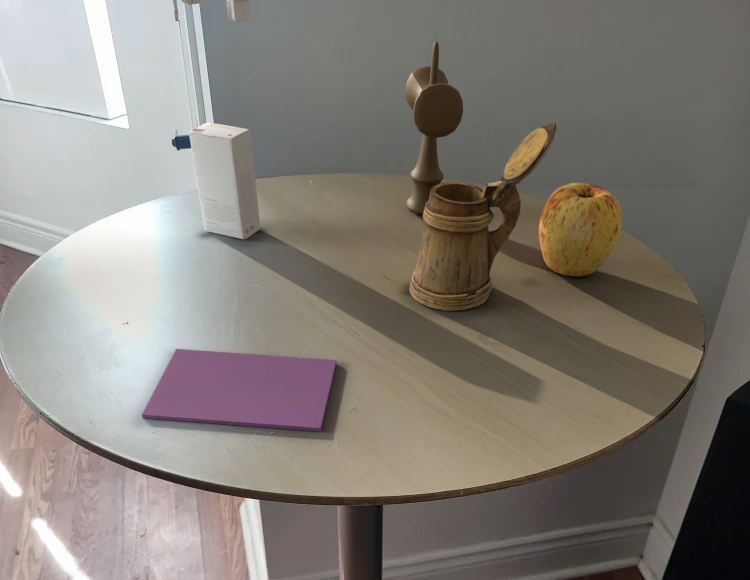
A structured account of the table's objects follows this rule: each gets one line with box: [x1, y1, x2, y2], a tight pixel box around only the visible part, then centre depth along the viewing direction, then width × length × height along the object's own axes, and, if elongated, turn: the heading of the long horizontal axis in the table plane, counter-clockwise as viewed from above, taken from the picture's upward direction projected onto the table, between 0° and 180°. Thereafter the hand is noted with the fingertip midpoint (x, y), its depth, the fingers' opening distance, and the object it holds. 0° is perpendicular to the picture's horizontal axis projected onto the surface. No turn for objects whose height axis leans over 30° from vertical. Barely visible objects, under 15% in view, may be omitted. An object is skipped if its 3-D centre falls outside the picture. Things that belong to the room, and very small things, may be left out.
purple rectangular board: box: [141, 348, 338, 432], centre depth 72 cm, size 16×11×1 cm
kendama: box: [404, 41, 464, 216], centre depth 97 cm, size 6×10×20 cm, turn 6°
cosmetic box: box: [188, 121, 261, 240], centre depth 94 cm, size 6×4×12 cm
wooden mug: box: [409, 122, 558, 312], centre depth 81 cm, size 9×14×18 cm, turn 93°
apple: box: [538, 182, 623, 277], centre depth 89 cm, size 9×9×10 cm
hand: (213, 11), depth 79 cm, fingers open, 8 cm apart
